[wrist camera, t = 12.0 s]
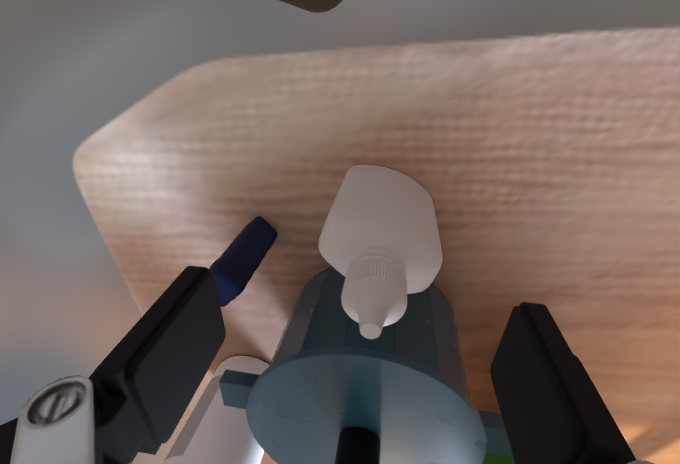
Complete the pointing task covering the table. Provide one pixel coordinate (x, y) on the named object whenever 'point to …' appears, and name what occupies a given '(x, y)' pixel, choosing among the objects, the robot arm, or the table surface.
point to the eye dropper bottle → (381, 244)
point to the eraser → (242, 259)
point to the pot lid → (362, 411)
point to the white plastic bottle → (219, 425)
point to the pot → (372, 342)
